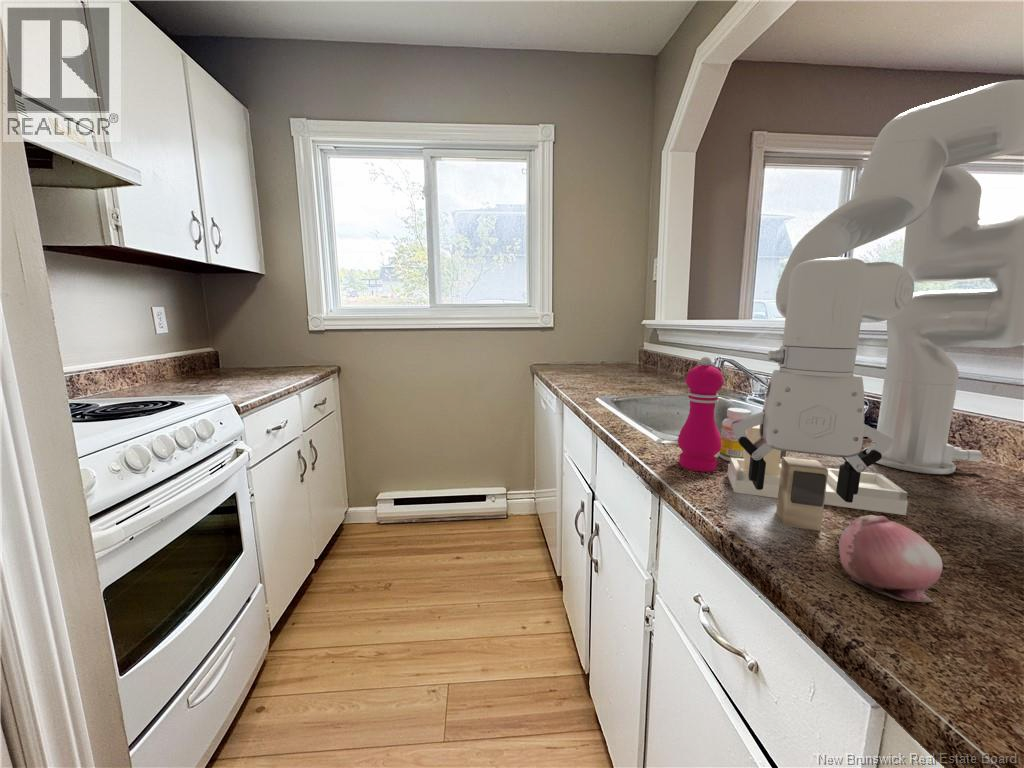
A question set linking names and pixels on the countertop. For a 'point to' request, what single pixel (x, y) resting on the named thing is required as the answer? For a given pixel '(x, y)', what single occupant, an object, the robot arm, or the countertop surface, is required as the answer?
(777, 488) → the rail
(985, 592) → the countertop surface
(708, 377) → the pepper mill
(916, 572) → the pink shallot
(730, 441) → the supplement bottle
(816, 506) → the block
